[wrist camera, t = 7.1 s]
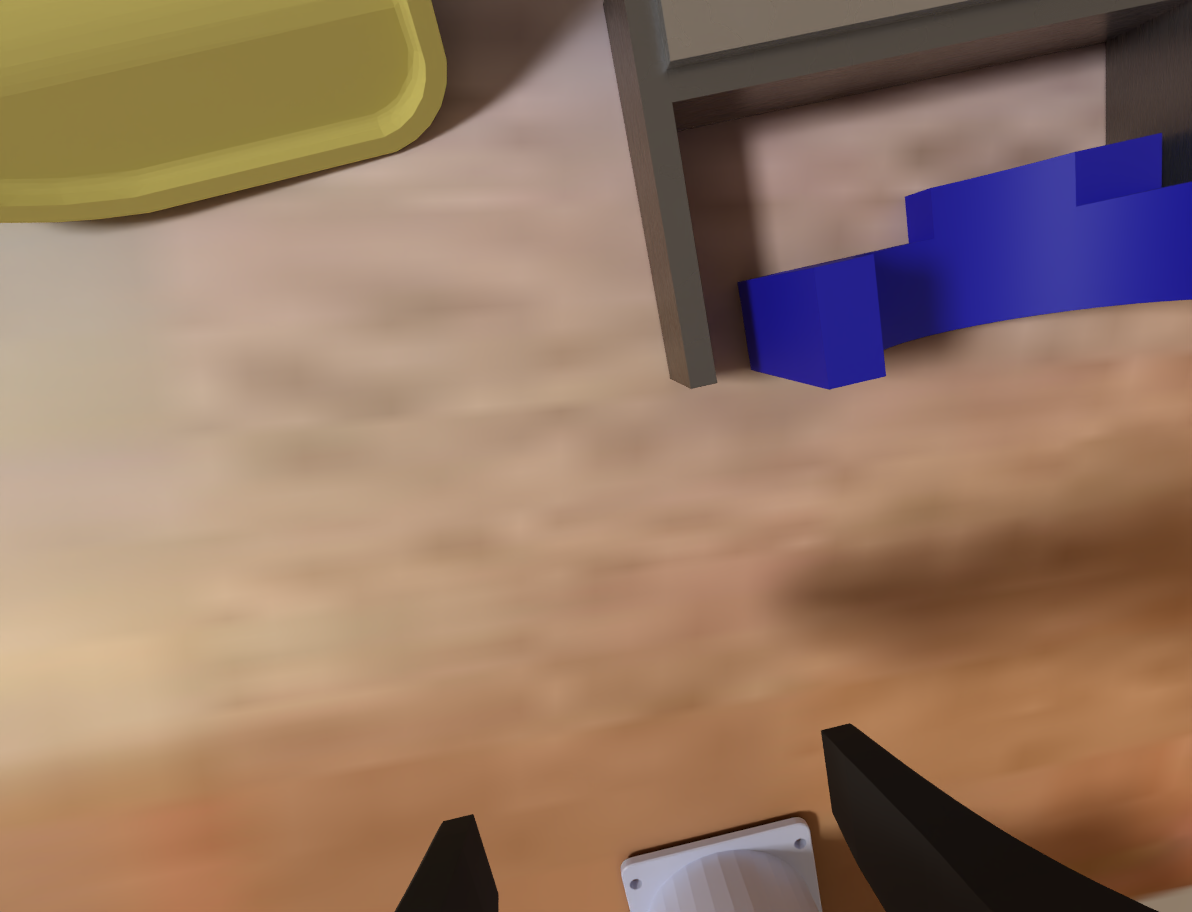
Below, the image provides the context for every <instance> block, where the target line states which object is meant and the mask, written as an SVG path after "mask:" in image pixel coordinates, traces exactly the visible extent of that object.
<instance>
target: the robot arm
mask: <svg viewBox="0 0 1192 912" xmlns="http://www.w3.org/2000/svg"><path fill="white" fill-rule="evenodd" d="M821 734H822V741H823V748H824V756H825V763H826V770H827V777H828V785H829V792H830V799H831V806H832V813H833V815H834V817H835V819H836V821H837V823H838V825H839V827H840V829H841V832H842V834H843V836H844V838H845V840H846V842H847V844H848V846H849V848H850V850H851V852H852V854H853V856H854V858H855V860H856V862H857V864H858V866H859V868H860V870H861V871H862V873H863V875H864V876H865V878H866V880H867V881H868V883H869V884H870V886H871V888H872V889H873V891H874V893H875V894H876V896H877V898H878V899H879V901H880V903H881V904H882V906H883V907H884V909H885V911H886V912H1158V911H1156V910H1154V909H1151V908H1149V907H1147V906H1145V905H1143V904H1141V903H1139V902H1137V901H1135V900H1132V899H1130V898H1128V897H1126V896H1124V895H1122V894H1120V893H1118V892H1116V891H1114V890H1112V889H1110V888H1107V887H1105V886H1103V885H1101V884H1099V883H1097V882H1095V881H1093V880H1091V879H1089V878H1087V877H1085V876H1083V875H1081V874H1079V873H1077V872H1075V871H1074V870H1072V869H1070V868H1068V867H1066V866H1064V865H1062V864H1061V863H1059V862H1057V861H1055V860H1053V859H1051V858H1050V857H1048V856H1046V855H1044V854H1042V853H1041V852H1039V851H1037V850H1035V849H1033V848H1032V847H1030V846H1028V845H1026V844H1024V843H1023V842H1021V841H1019V840H1018V839H1016V838H1014V837H1013V836H1011V835H1009V834H1008V833H1006V832H1004V831H1003V830H1001V829H1000V828H998V827H996V826H995V825H993V824H992V823H990V822H988V821H987V820H985V819H984V818H982V817H981V816H979V815H977V814H976V813H974V812H973V811H971V810H970V809H968V808H967V807H965V806H964V805H962V804H961V803H959V802H958V801H956V800H955V799H953V798H952V797H950V796H949V795H948V794H946V793H945V792H943V791H942V790H940V789H939V788H937V787H936V786H935V785H933V784H932V783H930V782H929V781H927V780H926V779H924V778H923V777H922V776H920V775H919V774H918V773H916V772H915V771H913V770H912V769H911V768H909V767H908V766H907V765H905V764H904V763H902V762H901V761H900V760H898V759H897V758H896V757H894V756H893V755H892V754H890V753H889V752H888V751H886V750H885V749H884V748H882V747H881V746H880V745H878V744H877V743H876V742H875V741H873V740H872V739H871V738H869V737H868V736H867V735H865V734H864V733H863V732H861V731H860V730H859V729H857V728H856V727H855V726H853V725H852V724H845V725H841V726H837V727H833V728H829V729H825V730H821ZM798 839H800V840H798ZM796 840H798V841H796ZM621 875H622V880H623V884H624V888H625V892H626V896H627V900H628V904H629V908H630V912H822V906H821V900H820V893H819V887H818V880H817V873H816V867H815V860H814V853H813V847H812V840H811V833H810V829H809V827H808V825H807V823H806V821H805V820H804V819H803V818H800V817H793V818H789V819H785V820H781V821H777V822H773V823H769V824H765V825H761V826H757V827H753V828H749V829H745V830H741V831H736V832H732V833H728V834H724V835H720V836H716V837H712V838H708V839H704V840H700V841H696V842H692V843H688V844H683V845H679V846H675V847H671V848H667V849H663V850H659V851H655V852H651V853H647V854H643V855H639V856H635V857H630V858H628V859H626V860H625V861H624V862H623V863H622V865H621ZM634 879H638V880H636V881H632V880H634ZM395 912H498V891H497V888H496V885H495V882H494V878H493V875H492V872H491V869H490V866H489V863H488V859H487V856H486V853H485V850H484V847H483V843H482V840H481V837H480V834H479V831H478V828H477V824H476V821H475V818H474V815H473V814H472V815H468V816H463V817H459V818H455V819H451V820H447V821H443V823H442V824H441V826H440V827H439V829H438V831H437V833H436V835H435V837H434V839H433V841H432V843H431V845H430V846H429V848H428V850H427V852H426V854H425V856H424V858H423V860H422V862H421V864H420V866H419V868H418V870H417V872H416V873H415V875H414V877H413V879H412V881H411V883H410V885H409V887H408V888H407V890H406V892H405V894H404V896H403V898H402V899H401V901H400V903H399V905H398V907H397V908H396V910H395Z"/></svg>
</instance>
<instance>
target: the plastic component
mask: <svg viewBox="0 0 1192 912" xmlns="http://www.w3.org/2000/svg"><path fill="white" fill-rule="evenodd" d="M446 85H447V60H446V56H445V52H444V48H443V44H442V40H441V36H440V33H439V29H438V25H437V21H436V17H435V13H434V9H433V5H432V2H431V0H0V223H32V222H67V221H81V220H94V219H104V218H112V217H120V216H128V215H136V214H143V213H150V212H154V211H159V210H163V209H167V208H171V207H175V206H179V205H183V204H187V203H191V202H195V201H199V200H203V199H207V198H211V197H215V196H219V195H223V194H227V193H231V192H235V191H240V190H244V189H248V188H252V187H256V186H260V185H264V184H268V183H272V182H276V181H280V180H284V179H288V178H292V177H296V176H300V175H304V174H308V173H312V172H317V171H321V170H325V169H329V168H333V167H337V166H341V165H345V164H349V163H353V162H357V161H361V160H365V159H369V158H373V157H377V156H381V155H385V154H389V153H393V152H397V151H398V150H400V149H402V148H403V147H405V146H407V145H408V144H410V143H412V142H413V141H415V140H416V139H417V138H418V137H419V136H420V135H421V134H422V133H423V132H424V131H425V130H426V129H427V128H428V127H429V126H430V125H431V123H432V122H433V120H434V118H435V116H436V114H437V113H438V111H439V109H440V107H441V105H442V101H443V97H444V93H445V89H446Z"/></svg>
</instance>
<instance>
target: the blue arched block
mask: <svg viewBox="0 0 1192 912" xmlns="http://www.w3.org/2000/svg"><path fill="white" fill-rule="evenodd" d="M1161 185H1162V133H1158V134H1154V135H1149V136H1145V137H1140V138H1136V139H1131V140H1127V141H1122V142H1118V143H1113V144H1109V145H1105V146H1100V147H1096V148H1091V149H1087V150H1082V151H1078V152H1073V153H1070V154H1066V155H1062V156H1058V157H1055V158H1051V159H1047V160H1043V161H1039V162H1036V163H1032V164H1028V165H1024V166H1020V167H1016V168H1012V169H1008V170H1004V171H1000V172H996V173H992V174H988V175H984V176H980V177H976V178H972V179H968V180H964V181H959V182H955V183H951V184H946V185H942V186H938V187H933V188H929V189H927V190H924V191H921V192H918V193H915V194H912V195H909V196H906V197H905V203H906V215H907V226H908V238H909V244H904V245H900V246H895V247H891V248H886V249H882V250H878V251H873V252H869V253H864V254H860V255H855V256H851V257H847V258H842V259H838V260H833V261H829V262H824V263H820V264H816V265H811V266H807V267H802V268H798V269H793V270H789V271H785V272H780V273H776V274H771V275H767V276H762V277H758V278H754V279H749V280H745V281H740V282H738V288H739V295H740V301H741V308H742V314H743V321H744V327H745V334H746V340H747V347H748V353H749V359H750V366H751V370H753V371H757V372H761V373H765V374H769V375H773V376H777V377H781V378H785V379H789V380H793V381H797V382H801V383H805V384H809V385H813V386H817V387H821V388H825V389H833V388H837V387H842V386H846V385H850V384H854V383H859V382H863V381H867V380H872V379H876V378H880V377H885V376H886V371H885V361H884V351H883V350H884V349H887V348H889V347H892V346H895V345H898V344H901V343H904V342H908V341H911V340H915V339H918V338H922V337H926V336H930V335H934V334H938V333H943V332H947V331H951V330H956V329H961V328H966V327H971V326H976V325H981V324H987V323H992V322H998V321H1004V320H1010V319H1016V318H1022V317H1028V316H1035V315H1042V314H1049V313H1056V312H1064V311H1071V310H1079V309H1088V308H1096V307H1106V306H1115V305H1125V304H1136V303H1148V302H1160V301H1174V300H1191V299H1192V181H1189V182H1185V183H1180V184H1175V185H1171V186H1166V187H1161Z"/></svg>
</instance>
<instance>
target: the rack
mask: <svg viewBox="0 0 1192 912" xmlns="http://www.w3.org/2000/svg"><path fill="white" fill-rule="evenodd" d="M603 6H604V12H605V17H606V23H607V28H608V34H609V39H610V45H611V51H612V56H613V62H614V67H615V73H616V78H617V84H618V90H619V95H620V101H621V106H622V112H623V117H624V123H625V129H626V134H627V140H628V145H629V151H630V156H631V162H632V168H633V173H634V179H635V184H636V190H637V195H638V201H639V207H640V212H641V218H642V223H643V229H644V234H645V240H646V246H647V251H648V257H649V262H650V268H651V273H652V279H653V285H654V290H655V296H656V301H657V307H658V312H659V318H660V324H661V329H662V335H663V340H664V346H665V351H666V357H667V363H668V368H669V374H670V379H672V380H674V381H676V382H678V383H680V384H682V385H684V386H686V387H688V388H690V389H692V388H697V387H701V386H706V385H710V384H715V383H717V379H716V372H715V366H714V360H713V354H712V347H711V341H710V335H709V329H708V323H707V316H706V310H705V304H704V298H703V291H702V285H701V279H700V273H699V267H698V260H697V254H696V248H695V242H694V235H693V229H692V223H691V217H690V211H689V204H688V198H687V192H686V186H685V179H684V173H683V167H682V161H681V155H680V148H679V142H678V136H677V131H680V130H685V129H689V128H694V127H699V126H704V125H709V124H714V123H718V122H723V121H728V120H733V119H738V118H742V117H747V116H752V115H757V114H762V113H766V112H771V111H776V110H781V109H786V108H790V107H795V106H800V105H805V104H810V103H814V102H819V101H824V100H829V99H834V98H838V97H843V96H848V95H853V94H858V93H862V92H867V91H872V90H877V89H882V88H886V87H891V86H896V85H901V84H906V83H911V82H915V81H920V80H925V79H930V78H935V77H939V76H944V75H949V74H954V73H959V72H963V71H968V70H973V69H978V68H983V67H987V66H992V65H997V64H1002V63H1007V62H1011V61H1016V60H1021V59H1026V58H1031V57H1035V56H1040V55H1045V54H1050V53H1055V52H1059V51H1064V50H1069V49H1074V48H1079V47H1083V46H1088V45H1093V44H1098V43H1103V42H1106V145H1109V144H1113V143H1118V142H1122V141H1127V140H1131V139H1136V138H1140V137H1145V136H1149V135H1154V134H1158V133H1162V185H1161V187H1166V186H1171V185H1175V184H1180V183H1185V182H1189V181H1192V0H604V3H603Z"/></svg>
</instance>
